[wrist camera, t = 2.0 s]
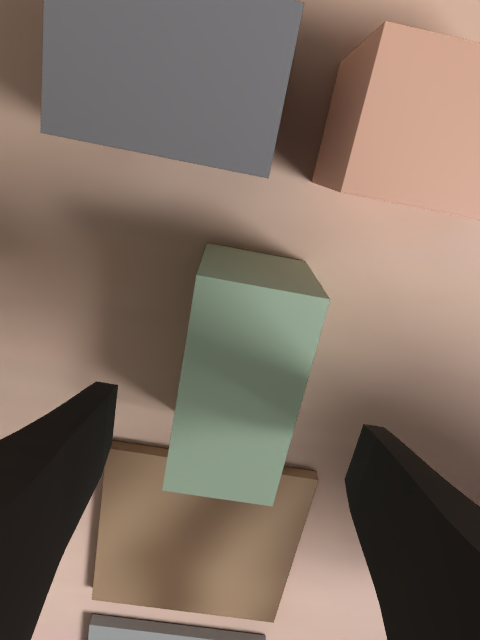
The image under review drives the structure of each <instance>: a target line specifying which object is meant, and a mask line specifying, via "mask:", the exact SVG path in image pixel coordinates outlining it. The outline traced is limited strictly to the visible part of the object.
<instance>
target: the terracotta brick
mask: <svg viewBox="0 0 480 640" xmlns="http://www.w3.org/2000/svg"><path fill="white" fill-rule="evenodd" d="M312 182H313V183H316V184H318V185H321V186H324V187H327V188H330V189H332V190H335V191H338V192H341V193H346V194H351V195H356V196H361V197H366V198H371V199H376V200H381V201H386V202H391V203H396V204H401V205H406V206H411V207H416V208H421V209H426V210H431V211H435V212H440V213H445V214H450V215H455V216H460V217H465V218H470V219H475V220H480V43H479V42H475V41H471V40H466V39H462V38H458V37H453V36H449V35H445V34H440V33H436V32H432V31H427V30H423V29H419V28H414V27H410V26H406V25H401V24H397V23H393V22H388V21H385V22H384V23H383V24H382V25H381V26H380V27H378V28H377V29H376V30H375V31H374V32H373V33H372V34H371V35H370V36H369V37H367V38H366V39H365V40H364V41H363V42H362V43H361V44H360V45H359V46H358V47H357V48H355V49H354V50H353V51H352V52H351V53H350V54H349V55H348V56H347V57H346V58H344V59H343V60H342V61H341V62H340V65H339V69H338V74H337V78H336V82H335V86H334V90H333V95H332V99H331V103H330V107H329V112H328V116H327V120H326V124H325V128H324V133H323V137H322V141H321V145H320V149H319V154H318V158H317V162H316V166H315V170H314V175H313V179H312Z"/></svg>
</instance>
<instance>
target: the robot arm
mask: <svg viewBox="0 0 480 640" xmlns="http://www.w3.org/2000/svg"><path fill="white" fill-rule="evenodd" d="M117 389H118V385H114V384H108V383H102V382H95V383H93V384H92V385H90V386H89V387H87V388H86V389H84V390H83V391H81V392H80V393H78V394H77V395H75V396H74V397H72V398H71V399H69V400H68V401H67V402H65V403H64V404H62V405H60V406H59V407H57V408H56V409H54V410H53V411H51V412H50V413H48V414H46V415H45V416H43V417H41V418H40V419H38V420H36V421H34V422H33V423H31V424H29V425H27V426H26V427H24V428H22V429H20V430H19V431H17V432H15V433H13V434H11V435H9V436H7V437H5V438H3V439H1V440H0V640H31V638H32V635H33V632H34V630H35V627H36V624H37V621H38V619H39V616H40V613H41V610H42V608H43V605H44V602H45V599H46V597H47V594H48V592H49V589H50V586H51V584H52V581H53V578H54V576H55V573H56V570H57V568H58V565H59V563H60V560H61V558H62V556H63V554H64V551H65V549H66V547H67V545H68V543H69V541H70V539H71V537H72V535H73V533H74V531H75V529H76V527H77V525H78V523H79V520H80V518H81V516H82V514H83V512H84V510H85V508H86V506H87V504H88V502H89V500H90V498H91V496H92V494H93V492H94V490H95V488H96V486H97V484H98V482H99V479H100V477H101V475H102V472H103V469H104V466H105V464H106V461H107V458H108V455H109V452H110V449H111V446H112V438H113V428H114V418H115V408H116V398H117ZM345 484H346V491H347V497H348V502H349V507H350V512H351V515H352V519H353V522H354V525H355V528H356V532H357V535H358V538H359V541H360V544H361V547H362V550H363V553H364V556H365V559H366V562H367V565H368V568H369V571H370V575H371V578H372V581H373V584H374V587H375V590H376V594H377V597H378V601H379V604H380V608H381V613H382V617H383V622H384V626H385V631H386V636H387V640H480V507H479V506H478V505H477V504H475V503H474V502H473V501H471V500H470V499H469V498H467V497H466V496H465V495H464V494H462V493H461V492H460V491H459V490H457V489H456V488H455V487H454V486H452V485H451V484H450V483H449V482H447V481H446V480H445V479H444V478H443V477H441V476H440V475H439V474H438V473H437V472H436V471H434V470H433V469H432V468H431V467H430V466H429V465H428V464H426V463H425V462H424V461H423V460H422V459H421V458H420V457H418V456H417V455H416V454H415V453H414V452H413V451H412V450H410V449H409V448H408V447H407V446H406V445H405V444H404V443H402V442H401V441H400V440H399V439H398V438H397V437H395V436H394V435H393V434H392V433H391V432H389V431H388V430H387V429H385V428H384V427H378V426H372V425H365V424H364V425H363V428H362V431H361V434H360V437H359V439H358V442H357V445H356V448H355V451H354V454H353V457H352V460H351V463H350V466H349V468H348V471H347V474H346V477H345Z"/></svg>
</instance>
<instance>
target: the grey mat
mask: <svg viewBox="0 0 480 640" xmlns="http://www.w3.org/2000/svg"><path fill="white" fill-rule="evenodd" d="M88 640H266V637H265V635H259V634H251V633H243V632H235V631H227V630H219V629H211V628H202V627H194V626H186V625H178V624H170V623H162V622H154V621H146V620H138V619H129V618H121V617H113V616H105V615H97V614H93V615H92V618H91V621H90V624H89V634H88Z"/></svg>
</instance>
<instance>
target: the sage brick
mask: <svg viewBox="0 0 480 640" xmlns="http://www.w3.org/2000/svg"><path fill="white" fill-rule="evenodd" d="M329 301H330V299H329V297H328V295H327V294H326V292H325V291H324V289H323V288H322V286H321V285H320V283H319V281H318V280H317V278H316V277H315V275H314V274H313V272H312V271H311V269H310V267H309V266H308V264H307V263H306V261H301V260H296V259H290V258H285V257H280V256H274V255H269V254H264V253H258V252H253V251H248V250H242V249H237V248H232V247H226V246H221V245H216V244H210V243H207V245H206V248H205V251H204V254H203V257H202V260H201V263H200V266H199V269H198V272H197V275H196V281H195V287H194V293H193V299H192V306H191V312H190V318H189V325H188V331H187V337H186V344H185V350H184V356H183V363H182V369H181V375H180V382H179V388H178V394H177V401H176V407H175V413H174V420H173V426H172V432H171V438H170V445H169V451H168V457H167V464H166V470H165V476H164V483H163V489H162V491H168V492H175V493H182V494H189V495H196V496H203V497H210V498H217V499H224V500H231V501H238V502H245V503H252V504H259V505H265V506H272V507H273V503H274V500H275V496H276V492H277V489H278V485H279V481H280V478H281V474H282V471H283V467H284V463H285V460H286V456H287V453H288V449H289V445H290V442H291V438H292V435H293V431H294V427H295V424H296V420H297V417H298V413H299V409H300V406H301V402H302V399H303V395H304V391H305V388H306V384H307V381H308V377H309V373H310V370H311V366H312V363H313V359H314V355H315V352H316V348H317V345H318V341H319V337H320V334H321V330H322V326H323V323H324V319H325V316H326V312H327V308H328V305H329Z"/></svg>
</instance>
